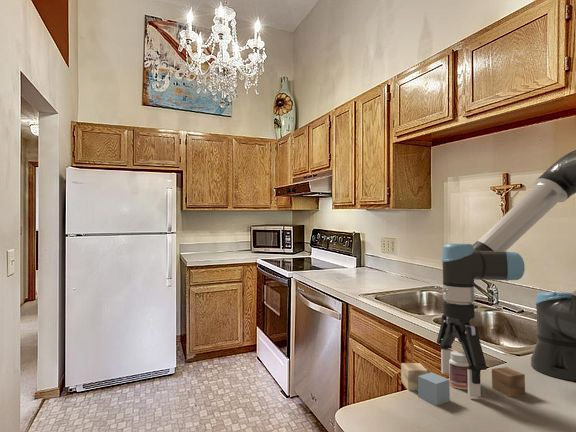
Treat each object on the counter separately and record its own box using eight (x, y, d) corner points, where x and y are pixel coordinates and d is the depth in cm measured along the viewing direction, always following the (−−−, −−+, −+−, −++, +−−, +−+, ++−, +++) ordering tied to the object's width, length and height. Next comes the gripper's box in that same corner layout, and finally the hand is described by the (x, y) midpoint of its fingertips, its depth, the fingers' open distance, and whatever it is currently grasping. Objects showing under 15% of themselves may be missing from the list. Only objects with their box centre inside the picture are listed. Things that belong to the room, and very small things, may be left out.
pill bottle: (472, 391, 87) (471, 357, 88) (452, 389, 88) (451, 355, 89) (466, 383, 92) (466, 351, 92) (447, 381, 93) (447, 349, 93)
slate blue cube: (431, 392, 86) (431, 372, 87) (449, 400, 82) (449, 379, 82) (418, 397, 84) (418, 376, 84) (436, 406, 79) (436, 383, 80)
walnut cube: (507, 386, 90) (506, 367, 91) (525, 394, 86) (524, 374, 86) (492, 388, 89) (491, 368, 89) (509, 397, 84) (509, 376, 85)
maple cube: (419, 382, 92) (419, 363, 93) (427, 390, 87) (427, 370, 88) (401, 382, 92) (401, 363, 92) (408, 390, 87) (408, 370, 87)
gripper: (424, 293, 104) (425, 365, 102) (470, 312, 79) (472, 407, 78) (449, 293, 104) (449, 365, 103) (502, 312, 79) (504, 407, 78)
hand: (459, 383), depth 90 cm, fingers open, 13 cm apart
